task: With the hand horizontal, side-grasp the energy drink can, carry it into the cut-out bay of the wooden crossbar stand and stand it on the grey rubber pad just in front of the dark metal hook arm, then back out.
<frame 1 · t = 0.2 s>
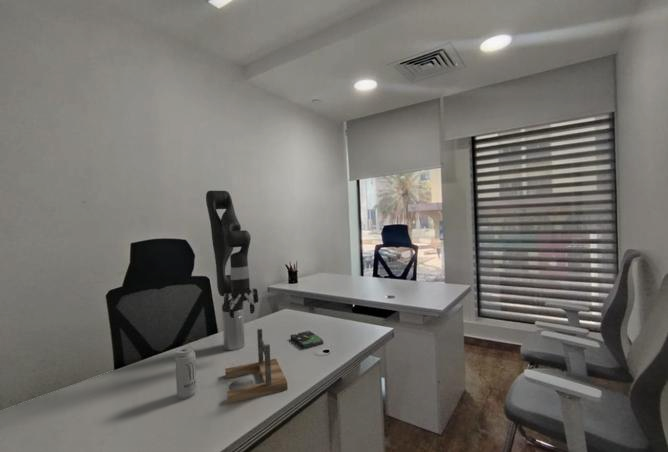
hand: (242, 315, 131), 18 cm above the table, tool pointing down, fingers open, 8 cm apart
disk drive: (306, 343, 145), on the table
energy drink can: (187, 395, 103), on the table
wooden crossbar stand: (253, 382, 110), on the table
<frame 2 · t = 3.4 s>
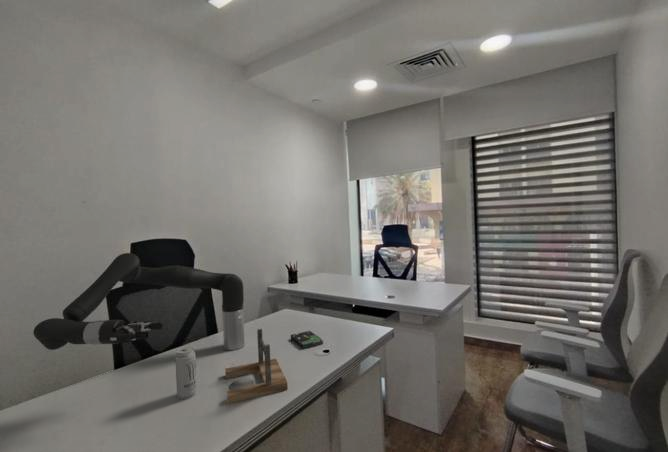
hand: (155, 330, 102), 22 cm above the table, tool horizontal, fingers open, 8 cm apart
nothing on the table moved.
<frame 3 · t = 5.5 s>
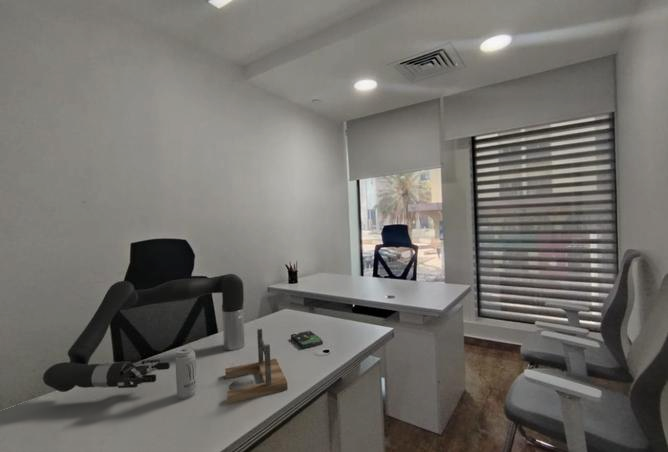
hand: (162, 371, 103), 8 cm above the table, tool horizontal, fingers open, 8 cm apart
nothing on the table moved.
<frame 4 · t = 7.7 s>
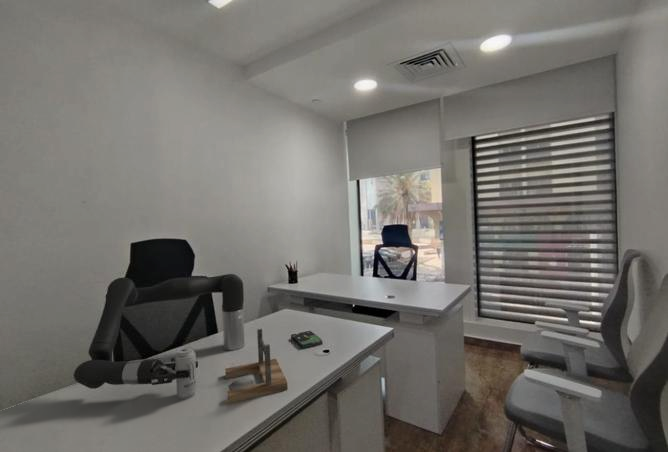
hand: (193, 369, 103), 9 cm above the table, tool horizontal, fingers closed on energy drink can, 6 cm apart
energy drink can: (187, 395, 103), on the table, touching gripper
everything else where it was.
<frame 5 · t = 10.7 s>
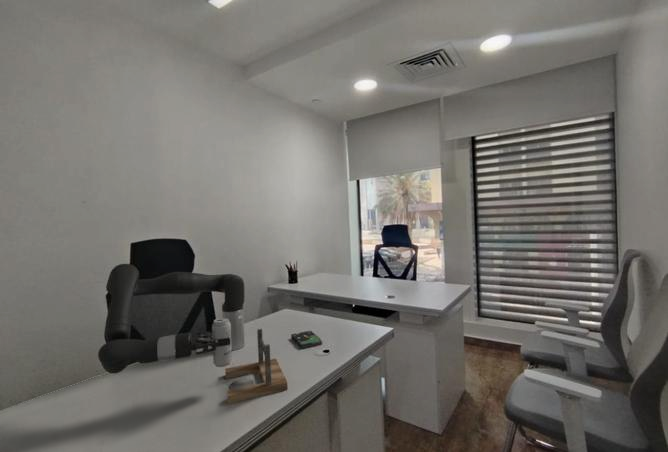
hand: (229, 337, 106), 17 cm above the table, tool horizontal, fingers closed on energy drink can, 6 cm apart
energy drink can: (223, 364, 106), point 9 cm above the table, touching gripper
everything else where it was.
when the fingers open (10 cm above the table, at t = 14.1 s): energy drink can stays where it is, resting on wooden crossbar stand.
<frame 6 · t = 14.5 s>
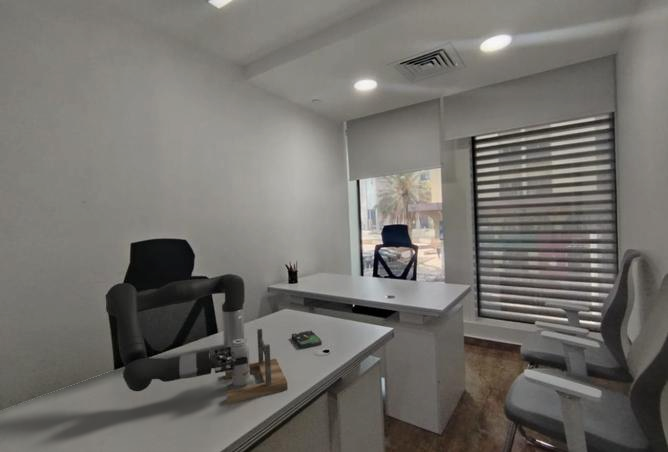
hand: (246, 354, 109), 10 cm above the table, tool horizontal, fingers open, 8 cm apart
energy drink can: (241, 384, 108), resting on wooden crossbar stand
everything else where it was.
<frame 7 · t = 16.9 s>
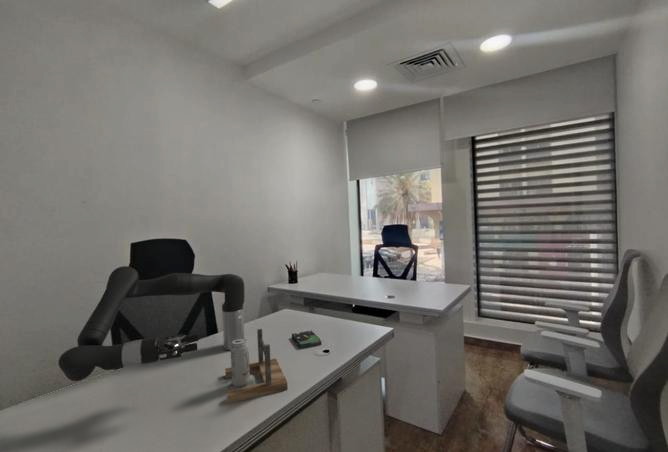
hand: (197, 341, 103), 18 cm above the table, tool horizontal, fingers open, 8 cm apart
nothing on the table moved.
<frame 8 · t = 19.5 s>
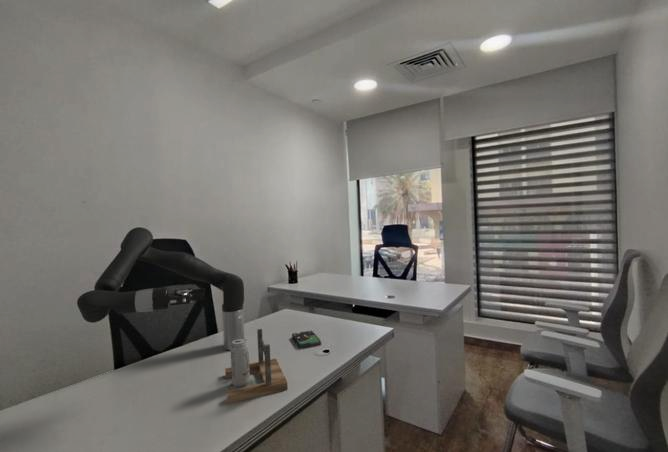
hand: (204, 293, 110), 32 cm above the table, tool horizontal, fingers open, 8 cm apart
nothing on the table moved.
at the end: energy drink can inside the target area (0.1 cm from its centre), resting on wooden crossbar stand; energy drink can tilted 0°; the gripper is holding nothing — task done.
